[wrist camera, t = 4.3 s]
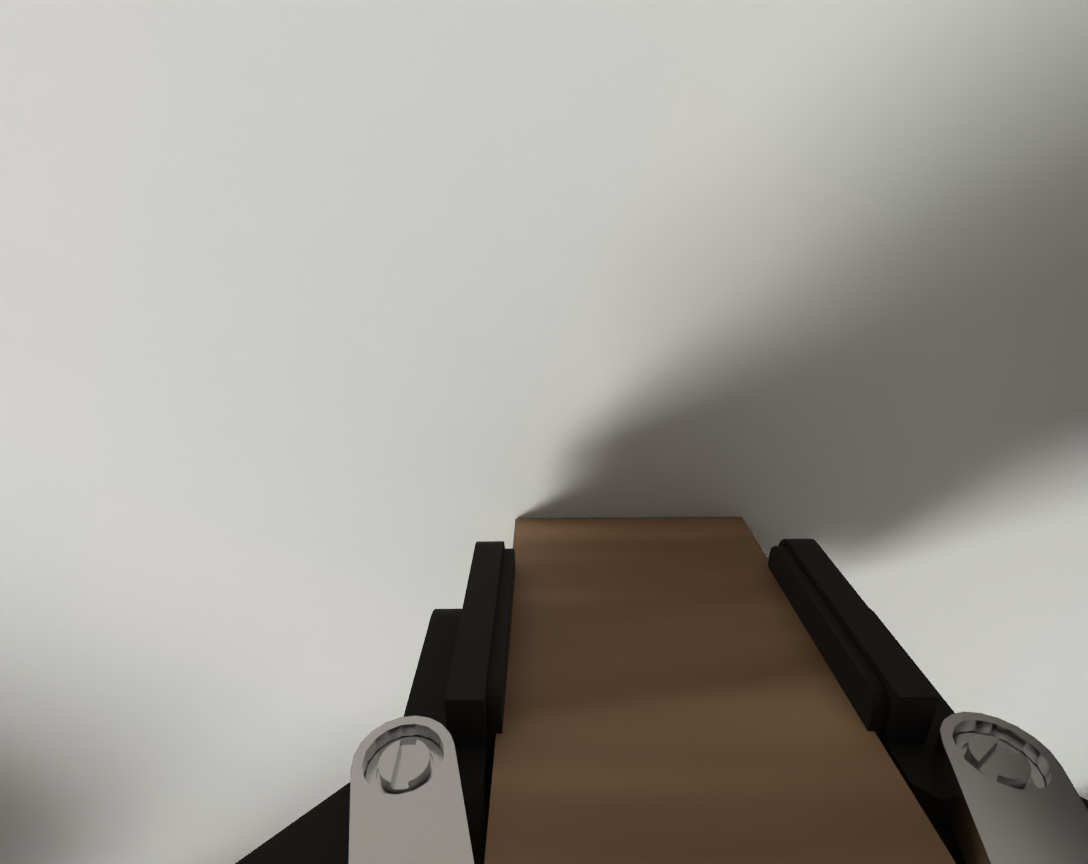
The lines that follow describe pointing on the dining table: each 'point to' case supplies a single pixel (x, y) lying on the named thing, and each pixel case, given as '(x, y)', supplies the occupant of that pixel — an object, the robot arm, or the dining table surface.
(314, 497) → the dining table surface
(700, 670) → the domino
